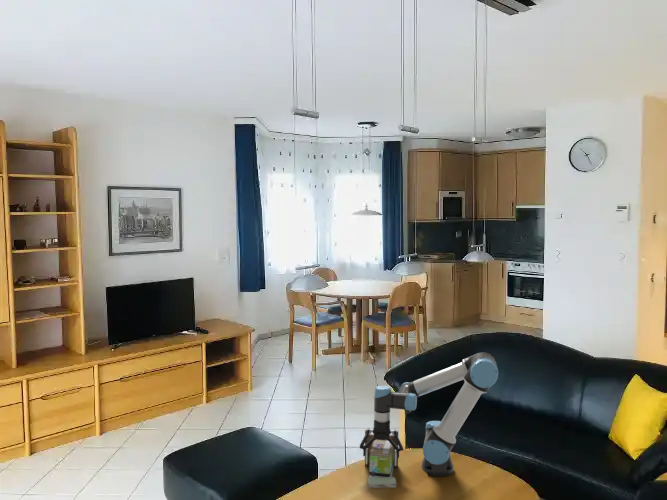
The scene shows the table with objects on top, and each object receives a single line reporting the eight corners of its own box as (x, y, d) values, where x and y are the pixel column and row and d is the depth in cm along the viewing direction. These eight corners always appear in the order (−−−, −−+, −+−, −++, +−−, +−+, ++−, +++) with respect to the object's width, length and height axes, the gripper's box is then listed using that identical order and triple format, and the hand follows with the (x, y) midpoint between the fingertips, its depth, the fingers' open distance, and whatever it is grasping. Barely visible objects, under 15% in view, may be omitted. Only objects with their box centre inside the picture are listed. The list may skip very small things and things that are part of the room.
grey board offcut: (395, 483, 252) (395, 480, 251) (396, 487, 248) (396, 484, 248) (369, 483, 251) (369, 480, 251) (369, 487, 248) (369, 484, 248)
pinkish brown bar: (394, 487, 251) (394, 483, 251) (395, 491, 248) (395, 487, 248) (368, 486, 252) (368, 483, 251) (368, 490, 248) (368, 487, 248)
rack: (397, 466, 270) (398, 430, 269) (397, 468, 268) (398, 432, 267) (364, 465, 271) (365, 429, 270) (364, 467, 269) (365, 431, 268)
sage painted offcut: (394, 480, 252) (394, 476, 252) (396, 483, 248) (396, 480, 248) (368, 481, 250) (368, 478, 250) (369, 485, 247) (369, 481, 247)
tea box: (390, 485, 252) (390, 453, 251) (368, 482, 254) (368, 451, 253) (393, 470, 266) (394, 440, 266) (372, 468, 269) (373, 438, 268)
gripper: (408, 417, 261) (407, 461, 263) (355, 415, 263) (354, 458, 265) (409, 423, 254) (408, 468, 255) (354, 421, 256) (354, 465, 257)
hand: (380, 463), depth 260 cm, fingers open, 13 cm apart
